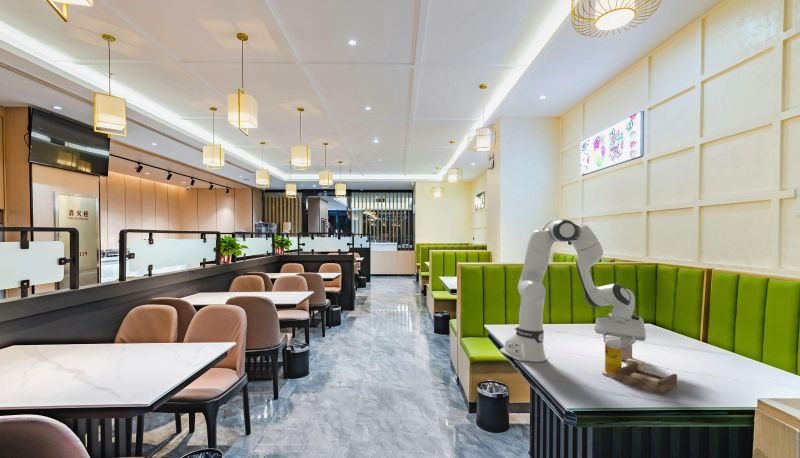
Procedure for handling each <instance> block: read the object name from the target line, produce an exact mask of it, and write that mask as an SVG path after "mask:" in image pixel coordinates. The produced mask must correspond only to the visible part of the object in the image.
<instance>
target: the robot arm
mask: <svg viewBox="0 0 800 458" xmlns="http://www.w3.org/2000/svg"><path fill="white" fill-rule="evenodd" d="M555 242H557V243H558V242H559V243H562V242H570V243H571V244H572V245H573V247H574V249H575V252H576V254H577V260H576V261H575V265H576V270H577V273H578V277H579V280H580V283H581V286H582V288H583V292H584V298H585V301H586V303H587V304H588V305H589V306H591V307H593V308H595V309H598V308H602V307H606V306H611V307H613V308H612V309H611V312H610V313H611V317H609V316H603V315H600V316H597V317H596V319H595V324H594V328H593V329H594V332H595V333H596V334H598V335H599V334H600V335H602V338H603V342H604V343H605V340H606V338H607V336H609V335H610V336H615V337H621V338H627V339H632V340H631V341H630V342H629V341H628V347H632V348H633V345H634V344H635V343H636V342H637V341H640V342H645V341H646V339H647V333H646V327H645V323H644V319H643V317H641V316H638V315H635V314H634V311H635V307H636V306H635V305H636V300H635V298H636V297H635V294H634V293H633V291H632V290H630V289H628V288H626V287H624V286H623V285H621V284H619V283H610V284H605V285H600V286H599V285H598V286H596V285H595V284H594V281H593V278H592V275H591V272H590V270H591V268H592V266H594V265H595V264H597V263H599V261H600V260H601V259H602V258H603V255H604V250H603V247H602V245H601V243H600V241H599V239H598V237H597V236H596V234H595V233H594V231H593V230H592V228H590V227H589V226H588V225H587V224H576V223H574V222H573V221H571V220H569V219H555V220H551V221H550V222H548V223H547V224H546V225H544V228H542V229H536V230H533V231H532V232H531V235H530V238H529V240H528V243H527V247H526V251H525V257H524V261H523V262H524V263H523V265H522V269H521V273H520V277H519V280H518V284H517V290H518V293H519V295H520V304H519V311H518V319H519V320H518V327H514V331H516V332H515V333H514V334H513V335H512V336H510V337H508V338H507V339H506V340H505V342H504V347H502V348H500V349H499V352H500V353H502V354H503V355H504V354H505V355H507V356H508V357H510V358H513V359H515V360H517V361H522V362H533V363H537V362H538V363H541V362H545V361H546V360H547V356H546V353H545V349H544V332H545V331H544V329H543V328H544V327H543V325H544V324H543V320H544V319H543V318H544V308H545V301H546V292H547V291H546V287H545V286H544V284H543V281H544V277H545V275H546V272H547V270H548V266H549V260H550V256H551V249H552V246H553V244H554V243H555Z"/></svg>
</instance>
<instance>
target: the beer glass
mask: <svg viewBox="0 0 800 458" xmlns="http://www.w3.org/2000/svg"><path fill="white" fill-rule="evenodd" d="M620 368H623V367H622V361H621V341H620V339H617V338H611V337H609V336H608V337H607V336H606V340H605V342H604V370H605V371H606V373H607V374H609V375H612V376H619V369H620Z"/></svg>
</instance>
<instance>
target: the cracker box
mask: <svg viewBox="0 0 800 458" xmlns="http://www.w3.org/2000/svg"><path fill="white" fill-rule="evenodd" d="M611 313H612V312H608V317H611ZM608 337H611V338H617V339H620V341H621V362H622V361H623V362H627V359H629V358H631V359H633V346H632V347H628V341H629V342H630V341H631V340H632V339H627V338H621V337H615V336H610V335H608Z"/></svg>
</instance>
